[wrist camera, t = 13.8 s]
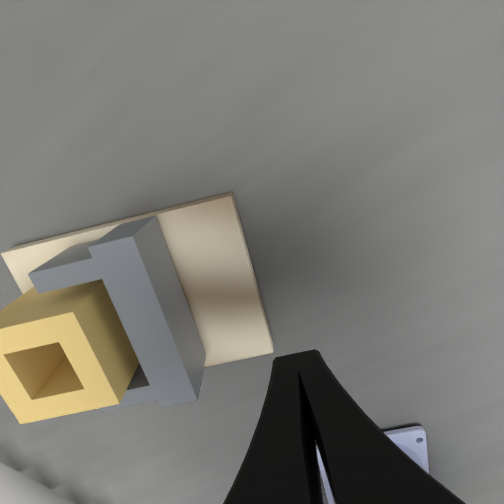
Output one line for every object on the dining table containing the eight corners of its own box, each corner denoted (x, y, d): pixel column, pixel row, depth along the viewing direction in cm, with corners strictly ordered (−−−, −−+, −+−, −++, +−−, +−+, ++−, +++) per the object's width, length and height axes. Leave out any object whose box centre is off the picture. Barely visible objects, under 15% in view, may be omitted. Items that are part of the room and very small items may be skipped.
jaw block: (150, 338, 20) (119, 403, 15) (74, 355, 20) (20, 424, 15) (119, 265, 18) (73, 311, 13) (36, 284, 18) (-38, 337, 14)
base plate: (272, 340, 21) (276, 381, 18) (86, 380, 22) (56, 426, 19) (232, 191, 18) (227, 206, 14) (15, 246, 19) (-38, 272, 15)
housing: (206, 355, 20) (197, 400, 16) (128, 372, 20) (105, 419, 17) (155, 215, 17) (132, 236, 13) (65, 238, 17) (21, 263, 14)
